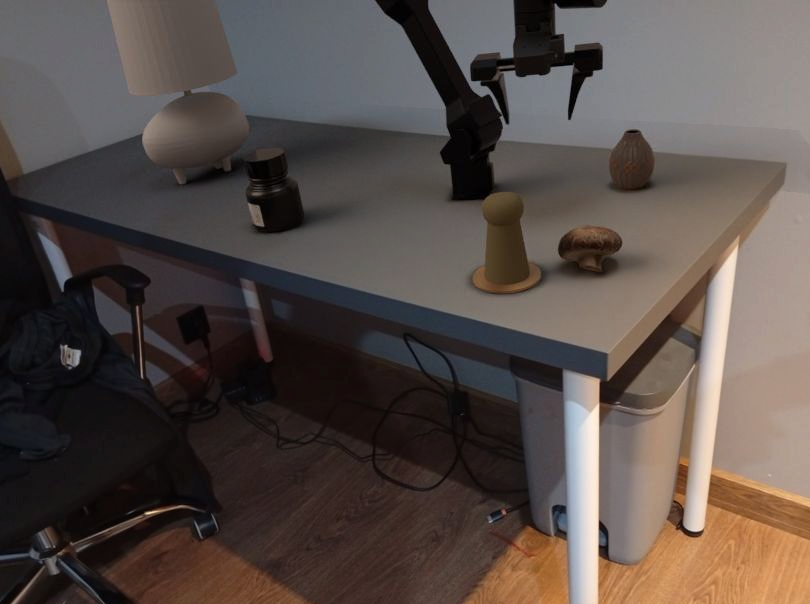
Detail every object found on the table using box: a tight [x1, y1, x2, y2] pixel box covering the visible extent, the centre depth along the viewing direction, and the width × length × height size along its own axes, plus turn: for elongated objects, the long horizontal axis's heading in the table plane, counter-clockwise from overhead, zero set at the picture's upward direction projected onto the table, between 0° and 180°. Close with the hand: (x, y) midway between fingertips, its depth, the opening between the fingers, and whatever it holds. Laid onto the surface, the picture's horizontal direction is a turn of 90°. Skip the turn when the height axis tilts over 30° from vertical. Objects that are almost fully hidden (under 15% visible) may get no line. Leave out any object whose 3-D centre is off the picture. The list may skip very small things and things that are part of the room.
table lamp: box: [106, 0, 250, 185], centre depth 146 cm, size 23×22×40 cm
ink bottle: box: [242, 147, 305, 233], centre depth 123 cm, size 10×9×12 cm
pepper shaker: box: [481, 191, 530, 285], centre depth 94 cm, size 6×6×11 cm
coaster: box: [472, 261, 542, 295], centre depth 97 cm, size 9×9×1 cm
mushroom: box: [557, 224, 623, 273], centre depth 95 cm, size 8×8×6 cm
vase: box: [608, 128, 656, 190], centre depth 117 cm, size 7×7×9 cm
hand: (538, 121), depth 111 cm, fingers open, 9 cm apart
